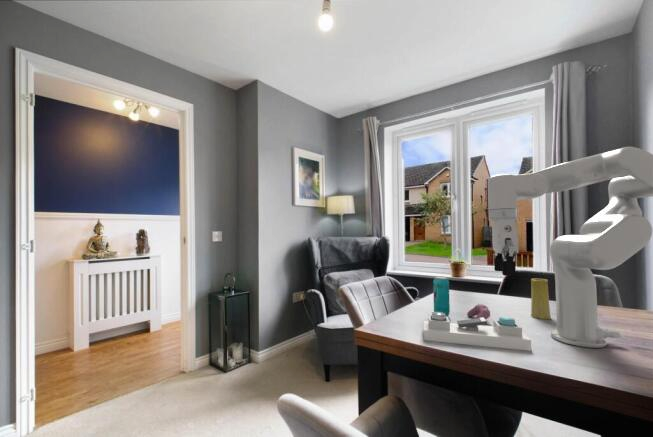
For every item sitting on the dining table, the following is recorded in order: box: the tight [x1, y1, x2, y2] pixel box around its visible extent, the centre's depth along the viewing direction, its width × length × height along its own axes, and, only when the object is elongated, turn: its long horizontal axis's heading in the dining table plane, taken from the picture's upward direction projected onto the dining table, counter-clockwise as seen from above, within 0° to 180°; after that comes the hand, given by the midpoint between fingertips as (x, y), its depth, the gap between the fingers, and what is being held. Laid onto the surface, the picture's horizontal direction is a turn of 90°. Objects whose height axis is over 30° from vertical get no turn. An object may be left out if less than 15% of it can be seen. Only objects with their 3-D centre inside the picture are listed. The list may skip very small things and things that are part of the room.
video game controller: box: [466, 303, 491, 320], centre depth 109 cm, size 10×5×7 cm, turn 169°
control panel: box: [423, 314, 532, 352], centre depth 90 cm, size 28×10×6 cm, turn 73°
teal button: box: [498, 316, 516, 327], centre depth 87 cm, size 4×4×2 cm
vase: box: [530, 277, 552, 320], centre depth 113 cm, size 6×6×14 cm
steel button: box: [431, 311, 445, 321], centre depth 93 cm, size 4×4×2 cm
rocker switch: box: [456, 317, 489, 328], centre depth 90 cm, size 8×4×1 cm, turn 73°
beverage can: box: [432, 275, 451, 318], centre depth 115 cm, size 6×6×15 cm
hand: (504, 273), depth 88 cm, fingers open, 9 cm apart
